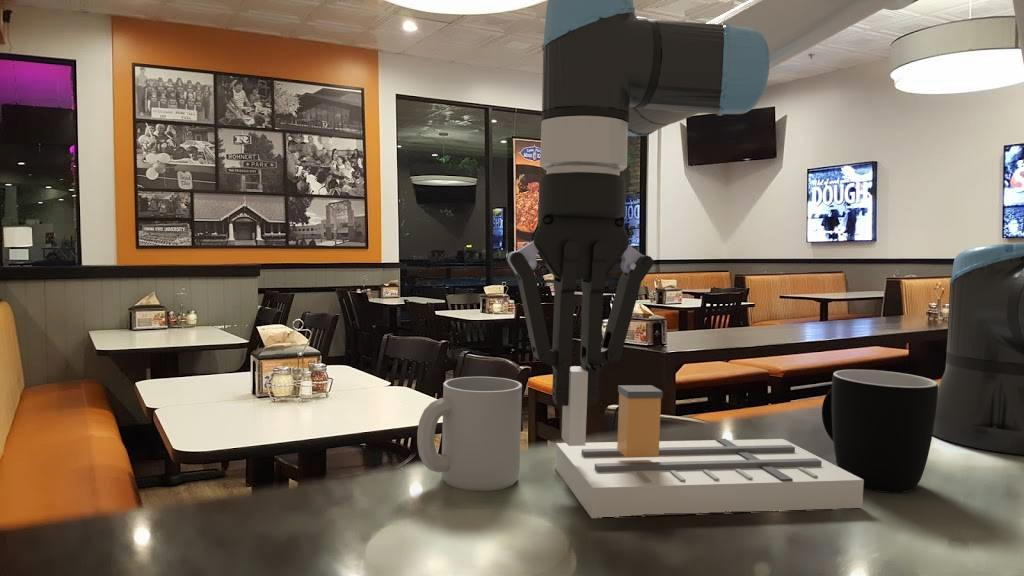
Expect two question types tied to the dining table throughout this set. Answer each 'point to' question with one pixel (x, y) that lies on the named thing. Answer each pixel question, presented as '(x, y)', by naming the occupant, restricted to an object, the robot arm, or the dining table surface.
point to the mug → (881, 426)
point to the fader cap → (639, 420)
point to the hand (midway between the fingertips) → (573, 441)
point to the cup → (474, 433)
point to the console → (705, 478)
